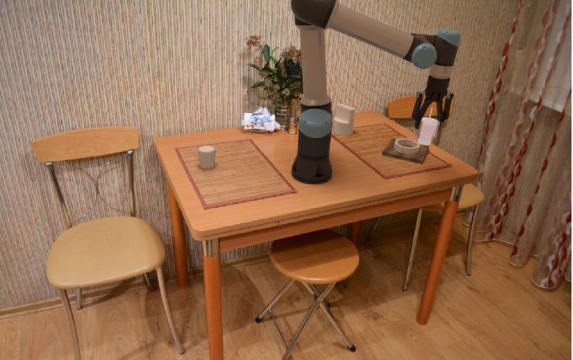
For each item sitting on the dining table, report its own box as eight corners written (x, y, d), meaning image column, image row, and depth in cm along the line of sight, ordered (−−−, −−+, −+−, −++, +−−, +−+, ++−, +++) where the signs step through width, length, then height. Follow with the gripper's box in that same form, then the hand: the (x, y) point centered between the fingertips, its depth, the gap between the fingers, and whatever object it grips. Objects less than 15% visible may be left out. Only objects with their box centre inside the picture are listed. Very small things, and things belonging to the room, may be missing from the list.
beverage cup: (432, 147, 166) (441, 111, 159) (416, 144, 167) (424, 109, 160) (431, 140, 171) (440, 105, 164) (415, 138, 172) (423, 103, 165)
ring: (391, 150, 184) (392, 145, 182) (397, 141, 192) (398, 136, 190) (416, 156, 180) (417, 150, 179) (420, 147, 188) (421, 141, 187)
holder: (382, 155, 183) (382, 151, 182) (391, 141, 196) (391, 138, 195) (421, 164, 177) (422, 160, 177) (428, 149, 190) (429, 145, 189)
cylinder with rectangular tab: (328, 131, 203) (331, 105, 197) (341, 126, 208) (344, 101, 202) (343, 137, 197) (346, 111, 191) (356, 132, 203) (360, 107, 197)
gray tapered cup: (209, 159, 172) (208, 143, 169) (220, 166, 168) (219, 149, 165) (194, 164, 168) (193, 148, 165) (205, 171, 164) (204, 154, 160)
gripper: (418, 78, 152) (405, 141, 163) (470, 79, 155) (453, 140, 166) (409, 72, 158) (397, 132, 169) (459, 73, 162) (443, 132, 173)
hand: (425, 136), depth 168 cm, fingers closed on beverage cup, 6 cm apart
